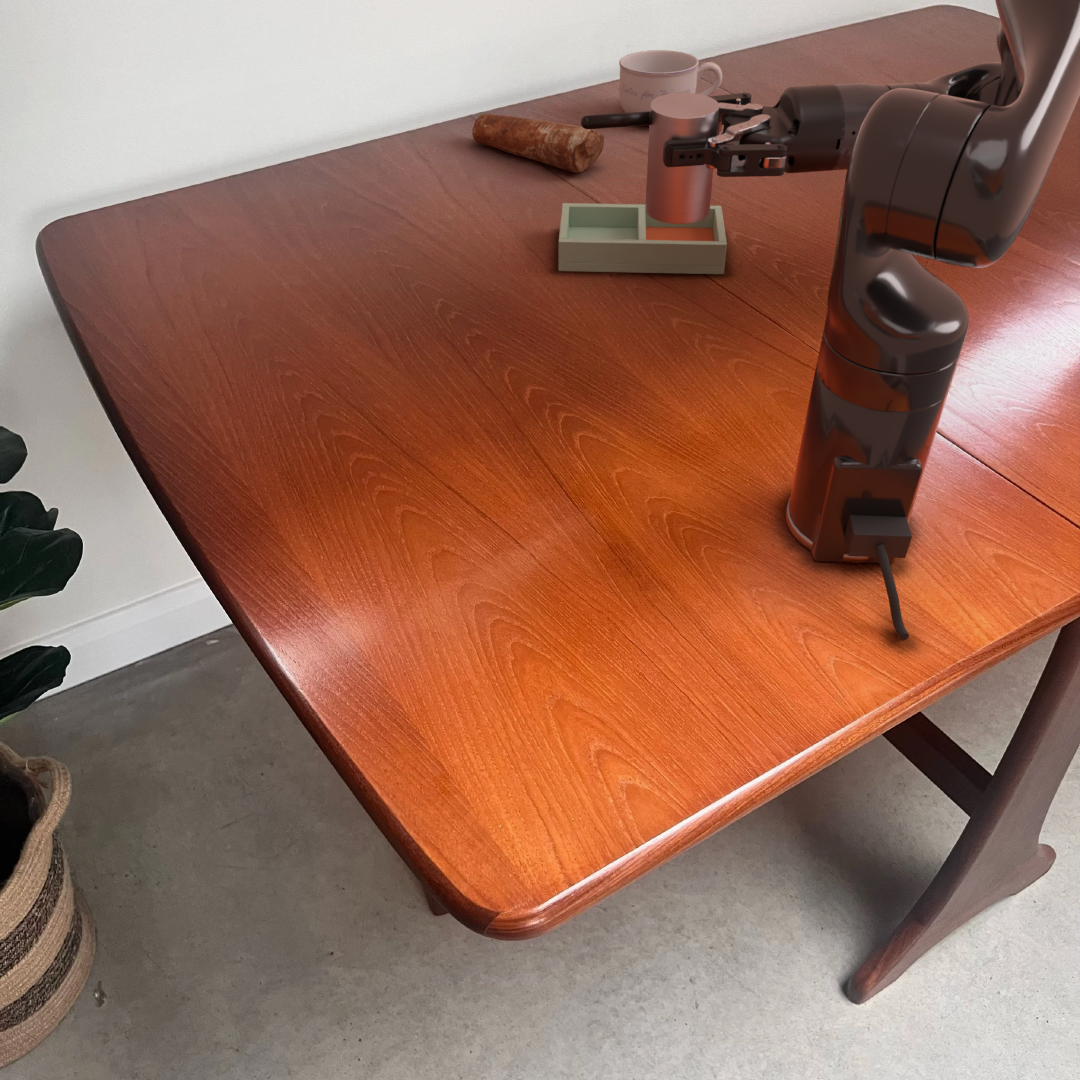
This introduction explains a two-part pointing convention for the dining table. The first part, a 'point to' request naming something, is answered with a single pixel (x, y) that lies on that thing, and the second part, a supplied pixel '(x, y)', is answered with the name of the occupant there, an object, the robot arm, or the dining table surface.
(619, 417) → the dining table surface
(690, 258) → the divided box
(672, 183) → the handled metal cylinder
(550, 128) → the bread
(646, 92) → the teacup
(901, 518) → the robot arm
